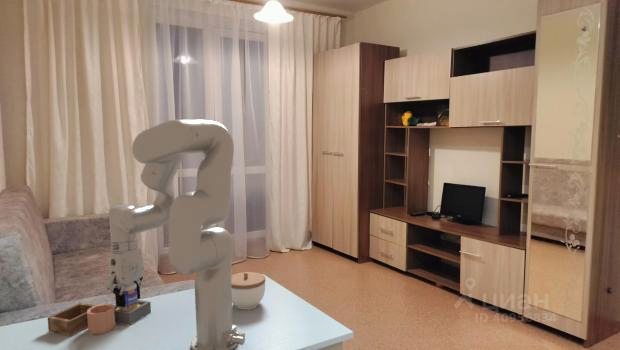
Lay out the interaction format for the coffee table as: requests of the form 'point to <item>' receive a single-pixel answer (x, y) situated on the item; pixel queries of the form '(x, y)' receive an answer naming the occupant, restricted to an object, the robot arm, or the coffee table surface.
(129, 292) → the pill bottle
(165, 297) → the coffee table surface
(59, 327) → the trough
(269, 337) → the coffee table surface
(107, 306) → the octagonal terracotta pot
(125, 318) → the grey square tray
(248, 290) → the lidded bowl
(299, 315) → the coffee table surface
